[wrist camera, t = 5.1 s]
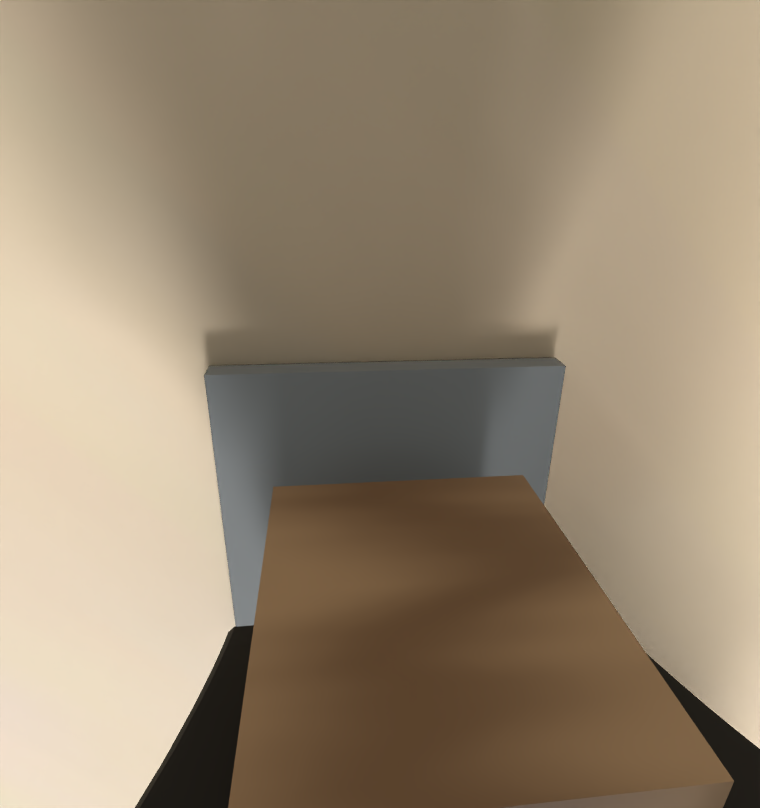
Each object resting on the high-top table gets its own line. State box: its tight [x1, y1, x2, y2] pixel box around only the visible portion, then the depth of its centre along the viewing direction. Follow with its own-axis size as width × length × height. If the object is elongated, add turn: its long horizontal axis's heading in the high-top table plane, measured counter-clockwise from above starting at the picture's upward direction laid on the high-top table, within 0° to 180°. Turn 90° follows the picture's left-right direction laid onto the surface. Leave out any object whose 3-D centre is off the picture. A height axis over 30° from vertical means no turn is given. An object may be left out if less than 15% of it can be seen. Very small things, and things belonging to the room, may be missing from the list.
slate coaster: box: [204, 358, 566, 627], centre depth 14 cm, size 8×8×1 cm
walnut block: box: [228, 475, 734, 808], centre depth 9 cm, size 5×5×6 cm
